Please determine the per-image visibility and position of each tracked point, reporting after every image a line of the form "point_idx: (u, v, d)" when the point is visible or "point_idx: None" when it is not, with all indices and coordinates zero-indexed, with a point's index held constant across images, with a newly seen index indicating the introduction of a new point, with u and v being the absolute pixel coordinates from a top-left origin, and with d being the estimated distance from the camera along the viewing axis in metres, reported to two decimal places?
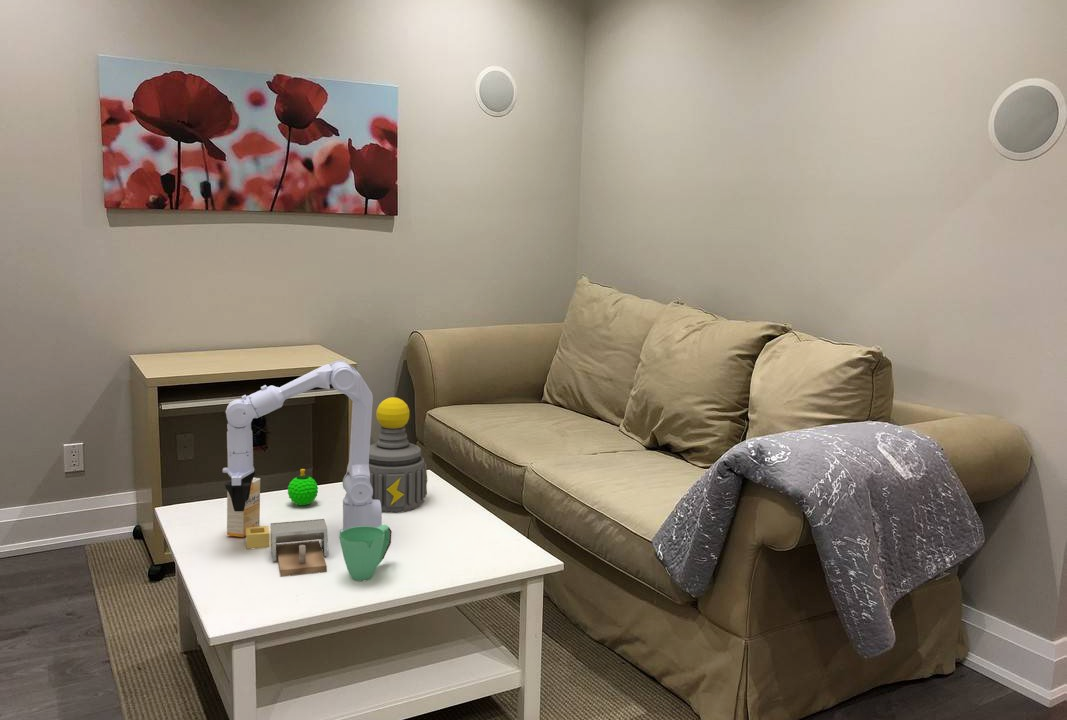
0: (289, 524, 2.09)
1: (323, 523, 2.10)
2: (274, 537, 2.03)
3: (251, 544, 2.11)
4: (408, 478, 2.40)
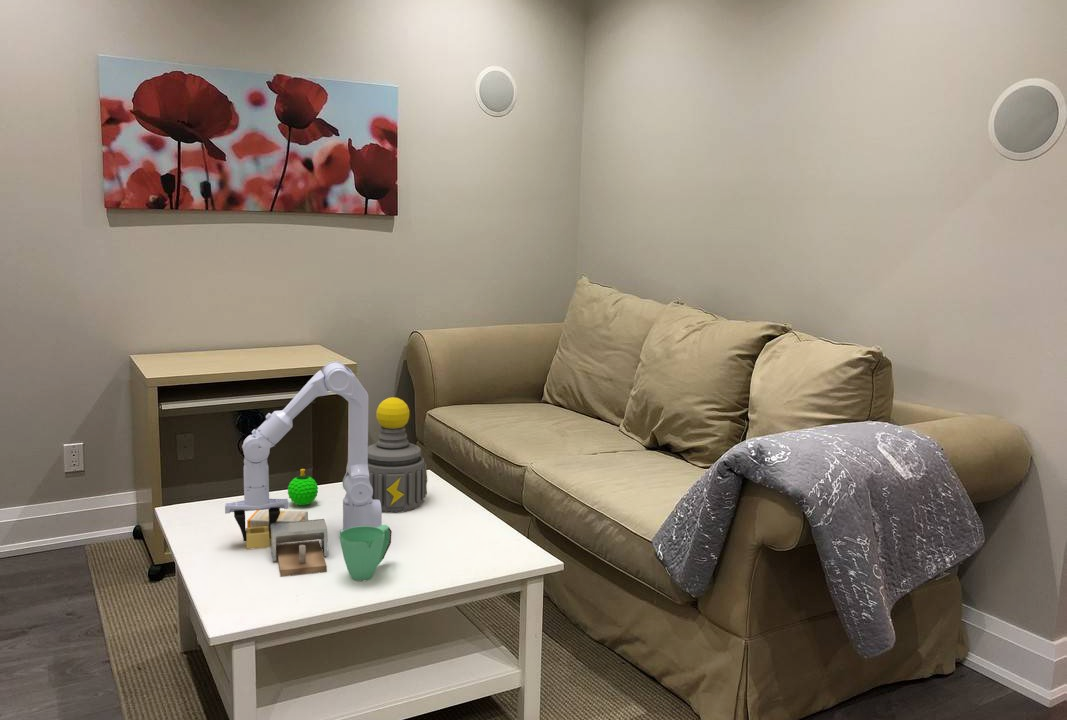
0: (289, 524, 2.09)
1: (323, 523, 2.10)
2: (274, 537, 2.03)
3: (251, 544, 2.11)
4: (408, 478, 2.40)
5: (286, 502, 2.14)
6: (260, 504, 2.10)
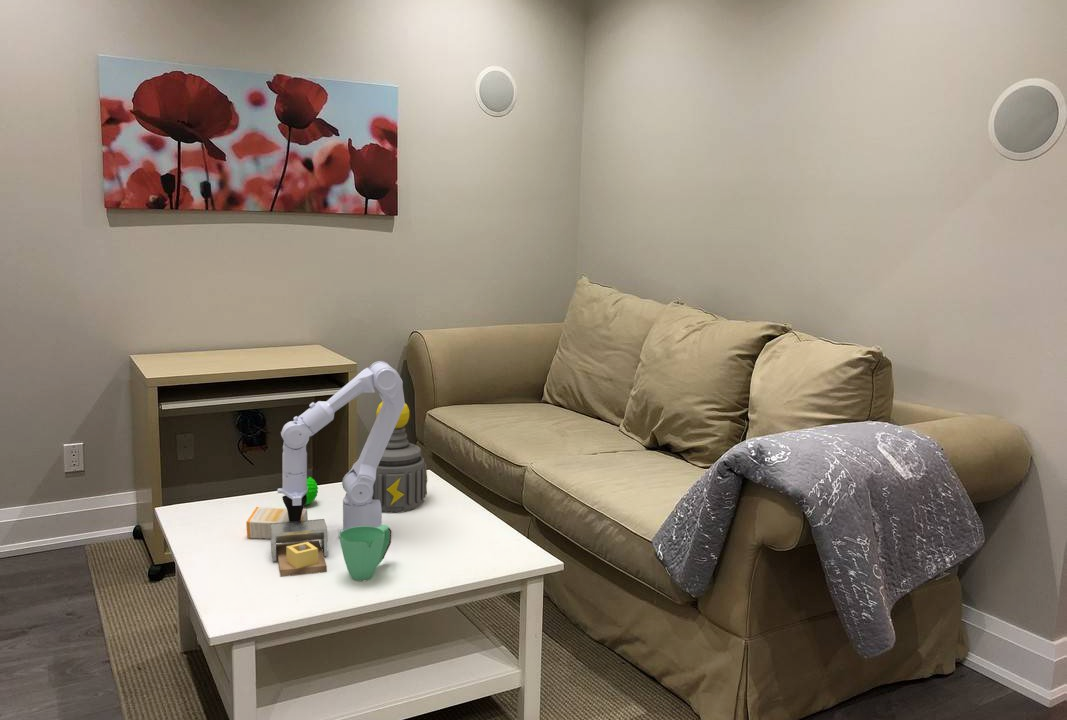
0: (289, 524, 2.09)
1: (323, 523, 2.10)
2: (274, 537, 2.03)
3: (301, 562, 1.98)
4: (408, 478, 2.40)
5: None
6: None
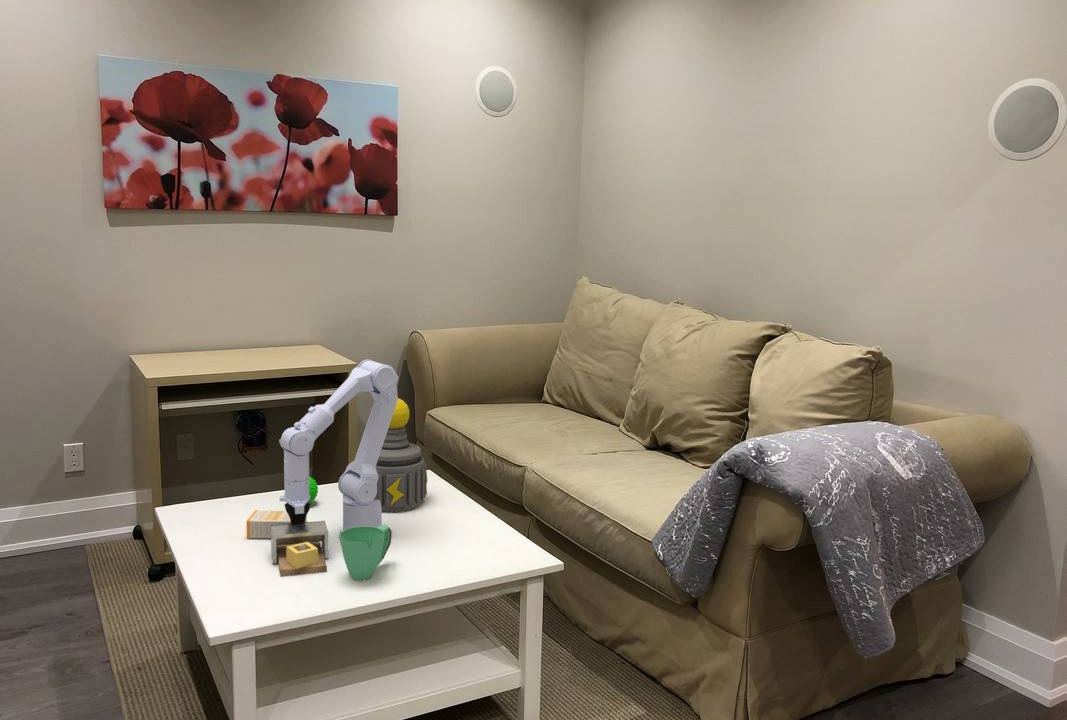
0: (289, 526, 2.08)
1: (324, 525, 2.09)
2: (274, 539, 2.02)
3: (301, 562, 1.98)
4: (408, 478, 2.40)
5: None
6: None
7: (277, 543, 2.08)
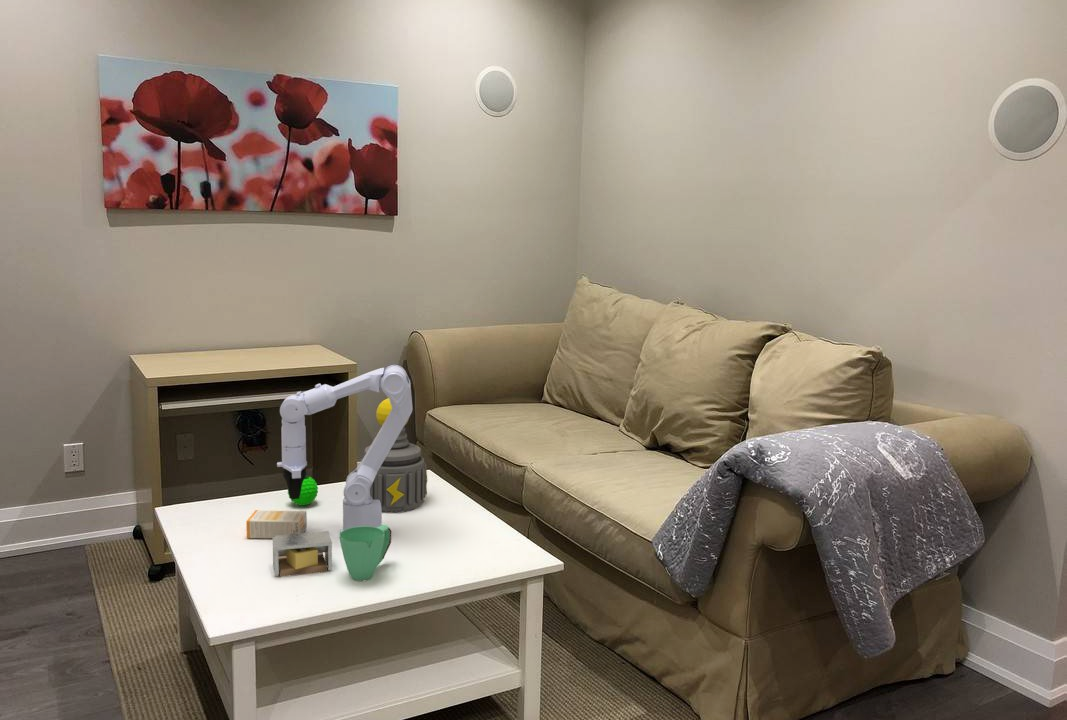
0: (292, 537, 2.01)
1: (327, 536, 2.02)
2: (276, 551, 1.95)
3: (300, 563, 1.97)
4: (408, 478, 2.40)
5: None
6: None
7: (279, 554, 2.02)
